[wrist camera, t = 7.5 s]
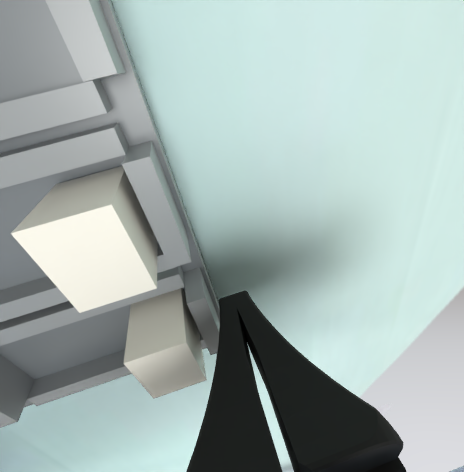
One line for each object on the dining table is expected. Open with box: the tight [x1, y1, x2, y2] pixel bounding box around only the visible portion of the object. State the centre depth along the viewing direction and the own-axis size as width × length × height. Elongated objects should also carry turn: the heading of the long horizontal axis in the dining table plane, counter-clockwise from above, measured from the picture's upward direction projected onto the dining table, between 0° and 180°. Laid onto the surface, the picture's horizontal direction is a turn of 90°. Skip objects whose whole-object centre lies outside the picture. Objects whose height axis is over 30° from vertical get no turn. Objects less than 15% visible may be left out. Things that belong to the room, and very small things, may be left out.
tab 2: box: [123, 288, 206, 398], centre depth 12 cm, size 2×3×3 cm
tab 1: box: [11, 166, 158, 313], centre depth 8 cm, size 2×3×3 cm
